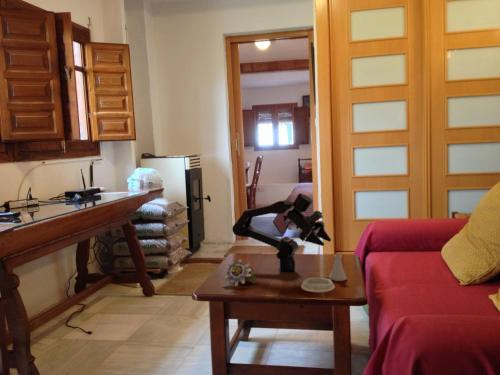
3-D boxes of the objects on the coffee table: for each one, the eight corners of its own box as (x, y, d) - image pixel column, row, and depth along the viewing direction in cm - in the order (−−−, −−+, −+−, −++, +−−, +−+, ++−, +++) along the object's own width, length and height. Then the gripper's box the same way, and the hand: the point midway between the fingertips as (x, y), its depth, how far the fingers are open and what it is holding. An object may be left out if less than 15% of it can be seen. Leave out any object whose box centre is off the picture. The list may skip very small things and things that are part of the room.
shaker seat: (305, 293, 163) (305, 287, 163) (298, 283, 176) (298, 278, 176) (338, 291, 165) (338, 285, 164) (329, 281, 177) (329, 276, 177)
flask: (340, 275, 185) (340, 252, 184) (350, 280, 178) (350, 256, 177) (326, 277, 182) (325, 254, 182) (335, 282, 176) (335, 258, 175)
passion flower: (237, 298, 176) (219, 277, 174) (240, 285, 186) (223, 265, 184) (259, 284, 173) (240, 262, 171) (261, 272, 183) (244, 251, 181)
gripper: (301, 208, 179) (331, 232, 174) (316, 203, 196) (344, 225, 190) (287, 228, 183) (315, 252, 178) (303, 222, 200) (329, 243, 194)
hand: (327, 242), depth 185 cm, fingers open, 9 cm apart
